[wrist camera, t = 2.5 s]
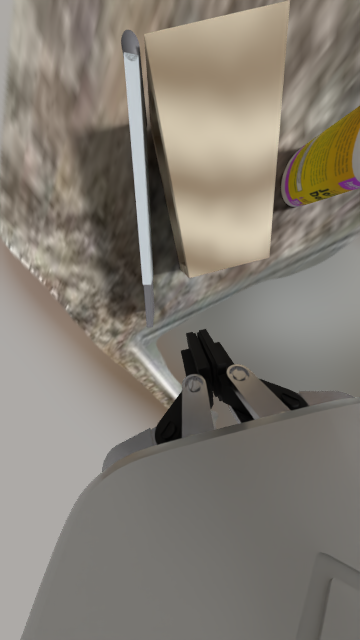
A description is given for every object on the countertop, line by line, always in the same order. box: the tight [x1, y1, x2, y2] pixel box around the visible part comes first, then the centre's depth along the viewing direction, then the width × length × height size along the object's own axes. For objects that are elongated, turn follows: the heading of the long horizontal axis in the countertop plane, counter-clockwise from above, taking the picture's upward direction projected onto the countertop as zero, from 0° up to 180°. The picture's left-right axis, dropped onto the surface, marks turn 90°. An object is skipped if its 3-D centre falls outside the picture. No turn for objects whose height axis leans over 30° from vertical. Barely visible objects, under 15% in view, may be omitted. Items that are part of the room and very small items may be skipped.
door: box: [121, 30, 154, 327], centre depth 17 cm, size 23×1×6 cm, turn 178°
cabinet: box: [144, 0, 290, 278], centre depth 16 cm, size 16×10×8 cm, turn 13°
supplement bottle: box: [281, 106, 360, 207], centre depth 14 cm, size 7×7×13 cm
